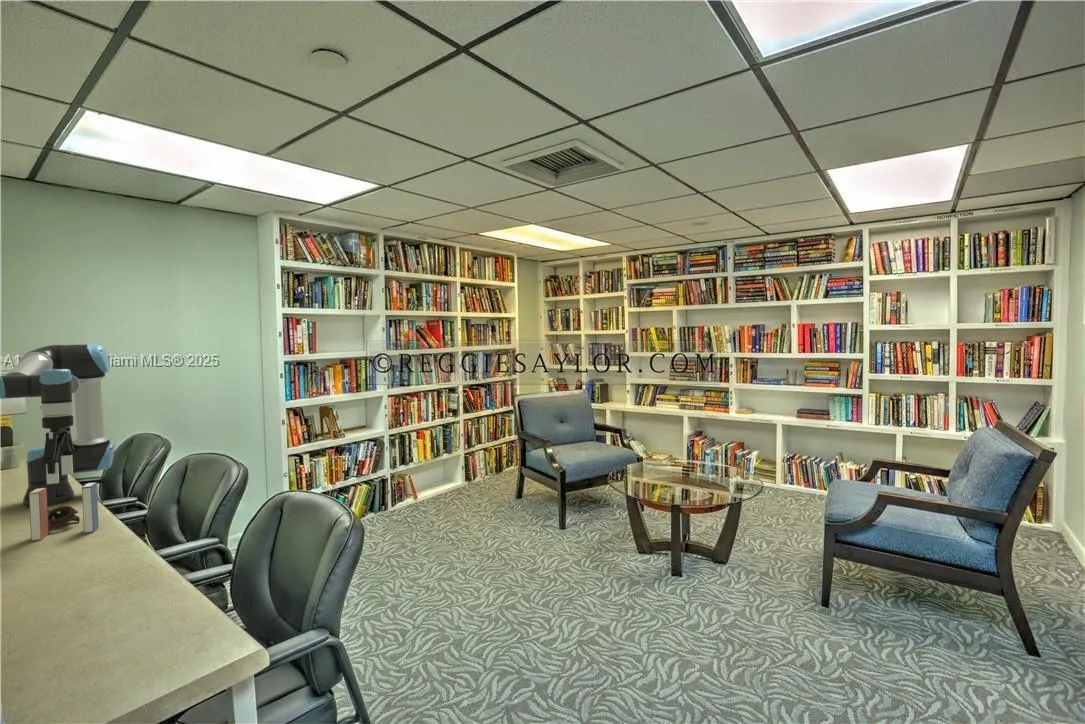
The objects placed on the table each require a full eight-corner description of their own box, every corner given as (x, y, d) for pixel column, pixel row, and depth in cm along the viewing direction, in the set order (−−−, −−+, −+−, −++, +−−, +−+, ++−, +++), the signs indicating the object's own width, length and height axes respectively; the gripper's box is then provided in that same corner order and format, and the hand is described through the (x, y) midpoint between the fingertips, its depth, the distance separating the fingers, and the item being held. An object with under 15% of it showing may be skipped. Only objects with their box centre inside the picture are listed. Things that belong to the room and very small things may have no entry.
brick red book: (38, 535, 169) (36, 488, 169) (48, 534, 170) (46, 487, 170) (31, 541, 164) (28, 493, 163) (41, 540, 165) (39, 491, 164)
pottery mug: (90, 521, 183) (83, 505, 178) (65, 542, 174) (57, 525, 170) (59, 514, 183) (51, 498, 179) (33, 534, 175) (24, 518, 171)
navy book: (89, 528, 175) (87, 483, 175) (98, 527, 177) (96, 481, 176) (83, 534, 170) (81, 487, 170) (93, 532, 171) (91, 486, 171)
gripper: (56, 412, 176) (58, 472, 176) (26, 421, 154) (29, 489, 154) (84, 410, 179) (86, 469, 180) (59, 419, 157) (62, 485, 158)
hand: (60, 478), depth 167 cm, fingers open, 13 cm apart
